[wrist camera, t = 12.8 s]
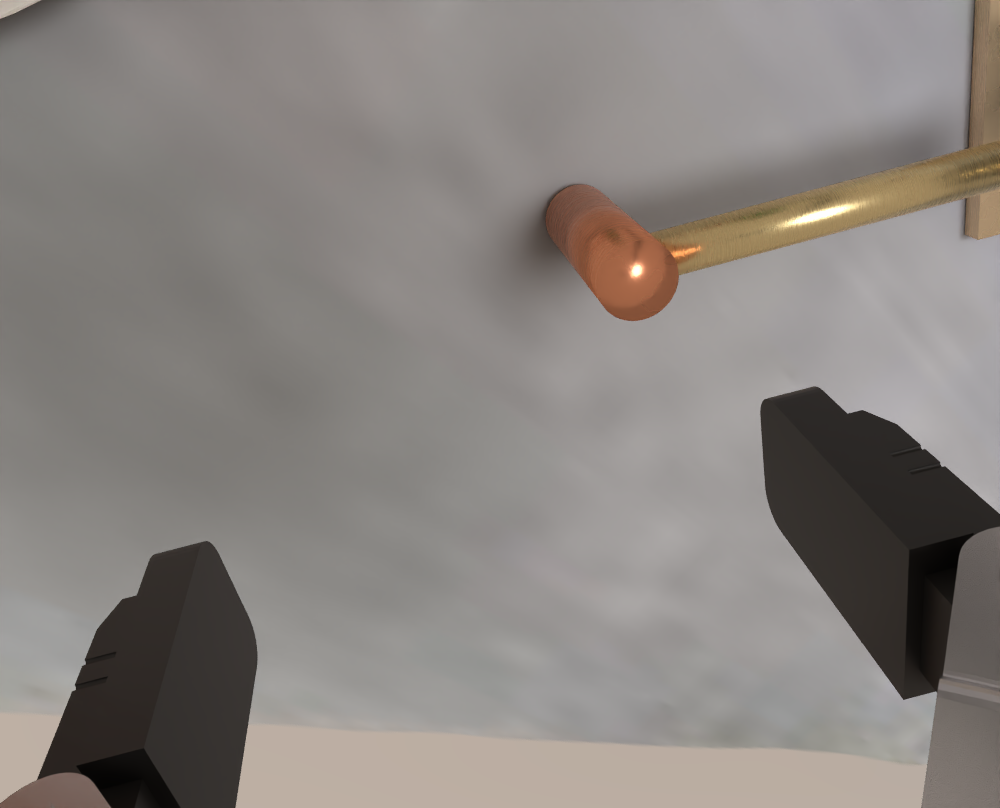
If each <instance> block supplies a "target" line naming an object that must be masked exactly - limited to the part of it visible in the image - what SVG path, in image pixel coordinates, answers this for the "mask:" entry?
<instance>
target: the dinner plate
mask: <svg viewBox="0 0 1000 808" xmlns="http://www.w3.org/2000/svg"><path fill="white" fill-rule="evenodd" d="M39 1H41V0H0V19H1V18H4V17H6V16H9V15H12V14H14V13H16V12H18V11H20V10H22V9H24V8H26V7H29V6H31V5H33V4H35V3H37V2H39Z"/></svg>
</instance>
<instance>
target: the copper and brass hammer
mask: <svg viewBox="0 0 1000 808" xmlns="http://www.w3.org/2000/svg"><path fill="white" fill-rule="evenodd" d="M998 189H1000V140H998V141H994V142H990V143H987V144H983V145H979V146H975V147H972V148H968V149H964V150H960V151H957V152H953V153H949V154H945V155H942V156H938V157H934V158H930V159H927V160H923V161H919V162H915V163H912V164H908V165H904V166H900V167H897V168H893V169H889V170H885V171H881V172H878V173H874V174H870V175H866V176H863V177H859V178H855V179H851V180H848V181H844V182H840V183H836V184H833V185H829V186H825V187H821V188H818V189H814V190H810V191H806V192H803V193H799V194H795V195H791V196H788V197H784V198H780V199H776V200H773V201H769V202H765V203H761V204H758V205H754V206H750V207H746V208H743V209H739V210H735V211H731V212H728V213H724V214H720V215H716V216H713V217H709V218H705V219H701V220H698V221H694V222H690V223H686V224H683V225H679V226H675V227H671V228H668V229H664V230H660V231H656V232H652V233H648V232H647V231H646V230H645V229H643V228H642V227H641V226H640V225H639V224H638V223H636V222H635V221H634V220H633V219H632V218H631V217H630V216H628V215H627V214H626V213H625V212H624V211H623V210H621V209H620V208H619V207H618V206H617V205H616V204H614V203H613V202H612V201H611V200H610V199H609V198H607V197H606V196H605V195H604V194H603V193H602V192H600V191H599V190H598V189H596V188H594V187H592V186H589V185H582V184H580V185H573V186H570V187H567V188H565V189H563V190H562V191H560V192H559V193H558V194H557V195H556V196H555V197H554V198H553V200H552V201H551V203H550V205H549V207H548V209H547V213H546V227H547V231H548V233H549V235H550V237H551V238H552V240H553V241H554V242H555V244H556V245H557V246H558V248H559V249H560V250H561V252H562V253H563V254H564V255H565V257H566V258H567V259H568V261H569V262H570V263H571V265H572V266H573V267H574V268H575V270H576V271H577V272H578V274H579V275H580V276H581V278H582V279H583V280H584V282H585V283H586V284H587V285H588V287H589V288H590V289H591V291H592V292H593V293H594V295H595V296H596V297H597V298H598V300H599V301H600V302H601V304H602V305H603V306H604V308H605V309H606V310H607V311H608V312H609V313H610V314H612V315H613V316H615V317H617V318H620V319H623V320H628V321H638V320H643V319H646V318H649V317H651V316H654V315H655V314H657V313H658V312H660V311H661V310H662V309H663V308H664V307H665V306H666V305H667V304H668V303H669V302H670V300H671V299H672V297H673V295H674V293H675V291H676V288H677V285H678V278H679V275H682V274H685V273H689V272H693V271H697V270H700V269H704V268H708V267H711V266H715V265H719V264H723V263H726V262H730V261H734V260H737V259H741V258H745V257H749V256H752V255H756V254H760V253H764V252H767V251H771V250H775V249H778V248H782V247H786V246H790V245H793V244H797V243H801V242H804V241H808V240H812V239H816V238H819V237H823V236H827V235H831V234H834V233H838V232H842V231H845V230H849V229H853V228H857V227H860V226H864V225H868V224H871V223H875V222H879V221H883V220H886V219H890V218H894V217H898V216H901V215H905V214H909V213H912V212H916V211H920V210H924V209H927V208H931V207H935V206H938V205H942V204H946V203H950V202H953V201H957V200H961V199H965V198H968V197H972V196H976V195H979V194H983V193H987V192H991V191H994V190H998Z"/></svg>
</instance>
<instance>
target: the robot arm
mask: <svg viewBox="0 0 1000 808" xmlns="http://www.w3.org/2000/svg"><path fill="white" fill-rule="evenodd" d="M760 413H761V431H762V446H763V461H764V476H765V489H766V495H767V499H768V503H769V507H770V510H771V513H772V515H773V517H774V520H775V522H776V524H777V526H778V527H779V529H780V530H781V532H782V533H783V535H784V536H785V537H786V539H787V540H788V542H789V543H790V544H791V546H792V547H793V548H794V550H795V551H796V553H797V554H798V555H799V557H800V558H801V559H802V561H803V562H804V564H805V565H806V566H807V568H808V569H809V570H810V572H811V573H812V575H813V576H814V577H815V579H816V580H817V581H818V583H819V584H820V586H821V587H822V588H823V590H824V591H825V592H826V594H827V595H828V597H829V598H830V599H831V601H832V602H833V603H834V605H835V606H836V608H837V609H838V610H839V612H840V613H841V614H842V616H843V617H844V619H845V620H846V621H847V623H848V624H849V625H850V627H851V628H852V630H853V631H854V632H855V634H856V635H857V636H858V638H859V639H860V641H861V642H862V643H863V645H864V646H865V647H866V649H867V650H868V652H869V653H870V654H871V656H872V657H873V658H874V660H875V661H876V663H877V664H878V665H879V667H880V668H881V669H882V671H883V672H884V674H885V675H886V676H887V678H888V679H889V680H890V682H891V683H892V685H893V686H894V687H895V689H896V690H897V691H898V693H899V694H900V696H901V697H902V698H903V700H905V699H908V698H912V697H916V696H920V695H923V694H927V693H931V692H935V691H936V692H937V699H936V706H935V713H934V720H933V728H932V735H931V742H930V749H929V756H928V764H927V771H926V778H925V785H924V792H923V800H922V807H921V808H1000V514H999V513H998V512H997V511H996V510H994V509H993V508H992V507H991V506H990V505H989V504H988V503H986V502H985V501H984V500H983V499H982V498H981V497H979V496H978V495H977V494H976V493H975V492H974V491H973V490H971V489H970V488H969V487H968V486H967V485H966V484H965V483H963V482H962V481H961V480H960V479H959V478H958V477H957V476H955V475H954V474H953V473H952V472H951V471H950V470H949V469H947V468H946V467H945V466H944V467H941V465H940V462H939V461H938V460H937V459H936V458H935V457H934V456H933V455H931V454H930V453H929V452H928V451H927V450H926V449H923V450H922V449H921V445H920V444H919V443H918V442H917V441H915V440H914V439H913V438H912V437H911V436H910V435H909V434H907V433H906V432H905V431H904V430H903V429H902V428H901V427H899V426H898V425H897V424H895V423H892V422H890V421H888V420H885V419H883V418H880V417H878V416H875V415H873V414H871V413H868V412H866V411H863V410H861V411H857V412H853V413H849V414H847V413H846V412H845V411H844V410H843V409H842V408H841V407H840V406H839V405H838V404H837V403H835V402H834V401H833V400H832V399H831V398H830V397H829V396H828V395H827V394H826V393H825V392H824V391H823V390H821V389H820V388H818V387H810V388H806V389H802V390H799V391H795V392H791V393H787V394H783V395H779V396H775V397H771V398H767V399H764V400H763V402H762V404H761V411H760ZM85 661H86V665H84V666H82V668H81V671H80V673H79V676H78V678H77V681H76V683H75V686H76V691H72V693H71V696H70V698H69V701H68V703H67V706H66V708H65V711H64V713H63V716H62V718H61V721H60V723H59V726H58V729H57V731H56V733H55V736H54V738H53V741H52V744H51V746H50V749H49V751H48V754H47V756H46V759H45V761H44V764H43V766H42V769H41V771H40V774H39V776H38V779H37V780H36V781H34V782H32V783H30V784H28V785H26V786H24V787H23V788H21V789H19V790H18V791H16V792H15V793H13V794H12V795H10V796H9V797H8V798H7V799H5V800H4V801H3V802H1V803H0V808H235V806H236V800H237V793H238V786H239V780H240V773H241V766H242V760H243V753H244V747H245V740H246V734H247V728H248V721H249V715H250V708H251V701H252V695H253V688H254V682H255V675H256V669H257V645H256V639H255V634H254V630H253V627H252V624H251V621H250V619H249V617H248V615H247V612H246V610H245V608H244V606H243V604H242V602H241V600H240V598H239V596H238V594H237V591H236V589H235V587H234V585H233V583H232V581H231V579H230V577H229V575H228V573H227V570H226V568H225V566H224V564H223V562H222V560H221V558H220V556H219V554H218V552H217V550H216V549H215V547H214V546H213V545H212V544H211V543H210V542H208V541H204V542H201V543H197V544H193V545H189V546H185V547H181V548H177V549H173V550H169V551H166V552H162V553H158V554H155V555H153V556H152V557H151V558H150V561H149V563H148V566H147V568H146V571H145V574H144V577H143V580H142V582H141V585H140V588H139V591H138V594H137V596H133V597H129V598H125V599H122V600H121V601H120V603H119V604H118V605H117V606H116V607H115V609H114V610H113V611H112V612H111V613H110V615H109V616H108V617H107V618H106V619H105V621H104V622H103V623H102V624H101V625H100V626H99V628H98V629H97V631H96V633H95V636H94V638H93V641H92V643H91V646H90V648H89V651H88V653H87V656H86V658H85Z"/></svg>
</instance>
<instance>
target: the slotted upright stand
mask: <svg viewBox="0 0 1000 808" xmlns="http://www.w3.org/2000/svg"><path fill="white" fill-rule="evenodd" d="M998 140H1000V0H975V19H974V42H973V64H972V86H971V109H970V131H969V148H972V147H975V146H979V145H983V144H987V143H990V142H994V141H998ZM998 234H1000V189H998V190H994V191H991V192H987V193H983V194H979V195H976V196H972V197H968V198H966V220H965V235H968V236H970V237H972V238H975V239H977V240H980V239H983V238H987V237H991V236H994V235H998Z"/></svg>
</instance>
